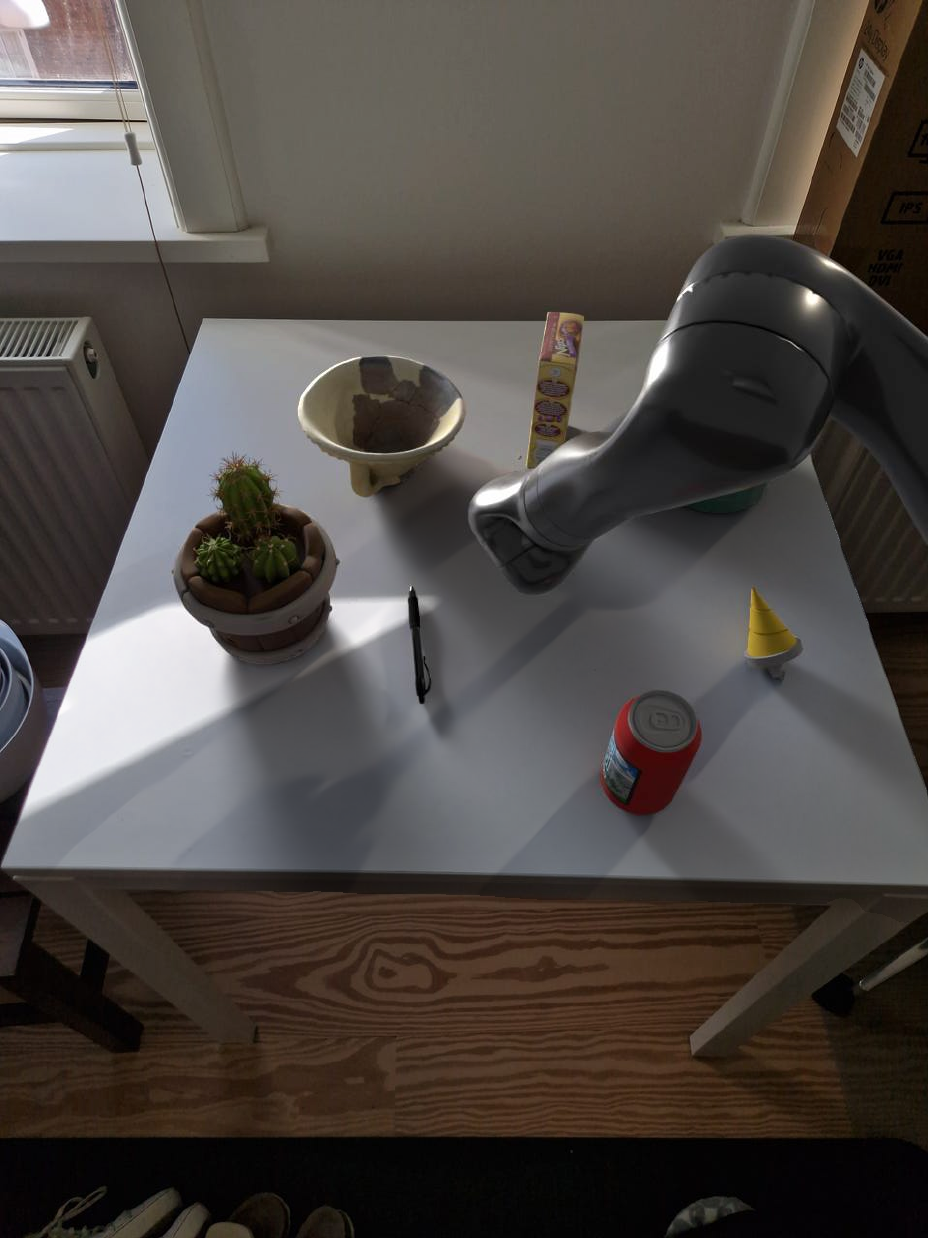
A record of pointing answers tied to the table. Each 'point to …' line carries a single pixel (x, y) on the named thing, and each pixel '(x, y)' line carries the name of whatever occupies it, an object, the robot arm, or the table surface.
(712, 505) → the mixing bowl
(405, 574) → the table surface
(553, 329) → the candy box
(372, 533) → the table surface
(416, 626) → the pen
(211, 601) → the flowerpot
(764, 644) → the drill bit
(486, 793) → the table surface
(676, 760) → the beverage can
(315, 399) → the bowl
